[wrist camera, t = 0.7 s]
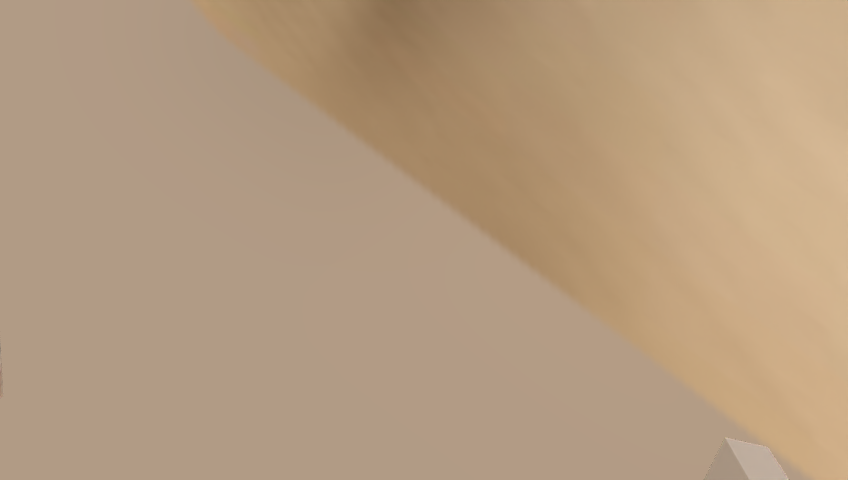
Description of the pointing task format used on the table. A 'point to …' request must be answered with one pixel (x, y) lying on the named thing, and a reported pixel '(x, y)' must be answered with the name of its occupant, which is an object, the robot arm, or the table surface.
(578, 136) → the table surface
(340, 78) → the table surface
